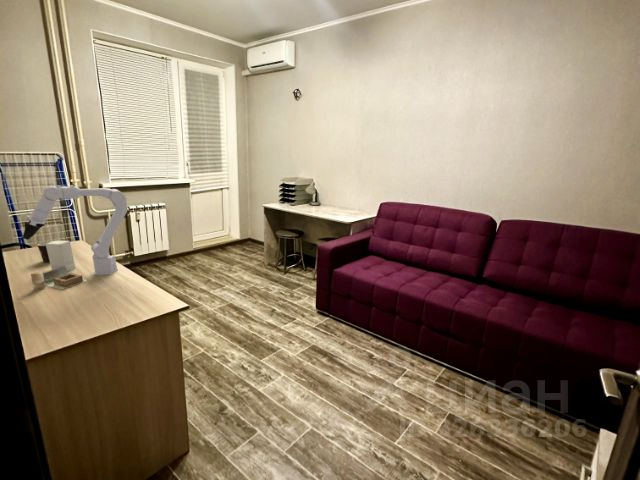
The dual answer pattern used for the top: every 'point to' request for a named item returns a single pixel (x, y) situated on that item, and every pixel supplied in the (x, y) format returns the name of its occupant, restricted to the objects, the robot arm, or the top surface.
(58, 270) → the wall
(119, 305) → the top surface
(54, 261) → the skincare box
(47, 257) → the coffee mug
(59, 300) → the top surface
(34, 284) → the dowel
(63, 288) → the board
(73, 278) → the brown wooden square frame
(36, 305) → the top surface
